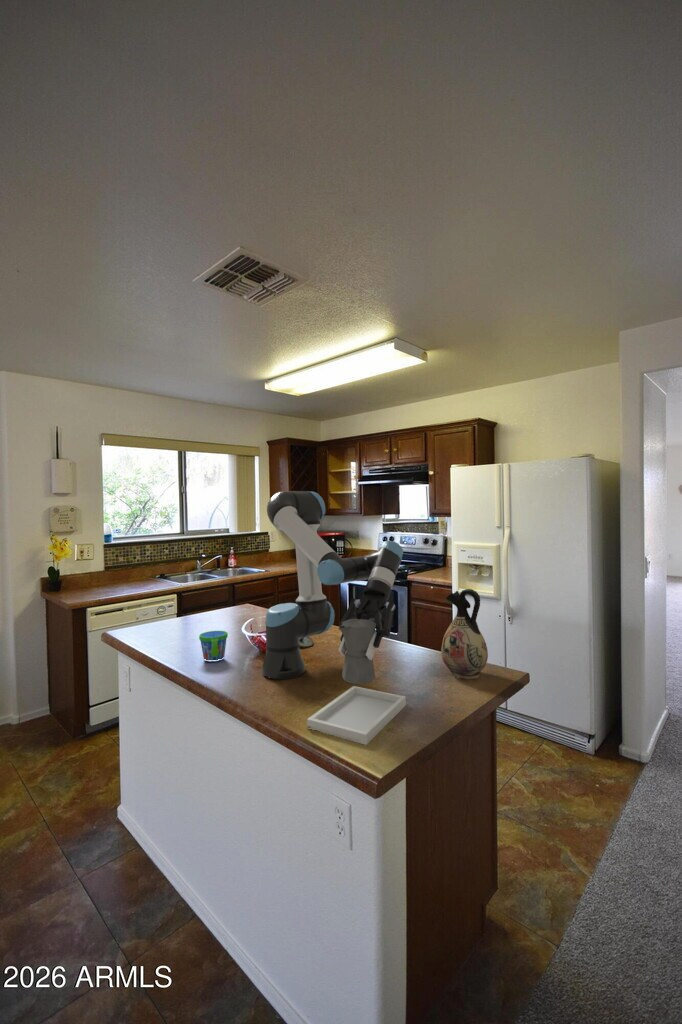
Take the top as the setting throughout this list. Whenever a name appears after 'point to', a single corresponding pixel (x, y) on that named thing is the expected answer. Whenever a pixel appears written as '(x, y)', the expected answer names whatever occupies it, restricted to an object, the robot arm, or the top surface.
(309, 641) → the lid
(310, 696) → the top surface
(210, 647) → the snack cup
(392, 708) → the docking tray
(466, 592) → the ceramic jug
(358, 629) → the coffeepot
